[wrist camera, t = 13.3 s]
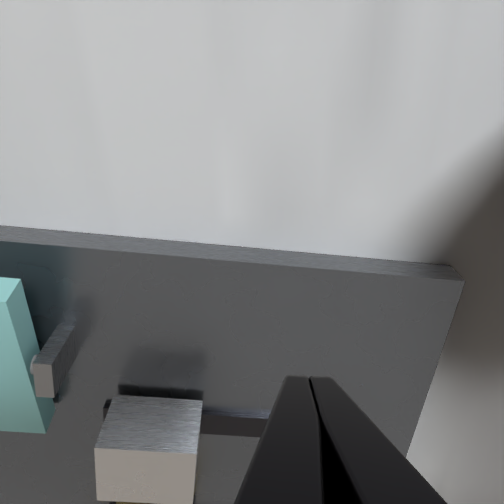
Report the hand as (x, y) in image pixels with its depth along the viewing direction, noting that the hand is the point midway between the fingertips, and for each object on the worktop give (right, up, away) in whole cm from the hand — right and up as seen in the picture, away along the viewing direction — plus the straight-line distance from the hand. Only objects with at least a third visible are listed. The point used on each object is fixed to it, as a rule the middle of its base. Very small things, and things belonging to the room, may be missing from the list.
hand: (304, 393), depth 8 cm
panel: (-4, -7, +16) cm, 18 cm away
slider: (-5, -5, +13) cm, 15 cm away
